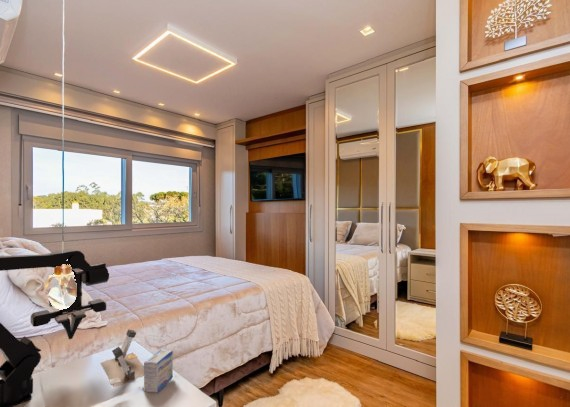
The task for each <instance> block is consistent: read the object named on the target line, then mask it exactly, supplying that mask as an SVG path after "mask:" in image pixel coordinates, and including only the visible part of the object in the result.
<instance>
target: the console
mask: <svg viewBox="0 0 570 407" xmlns="http://www.w3.org/2000/svg"><path fill="white" fill-rule="evenodd" d="M123 358H124V356H123ZM124 360H125V362H126V364H127V365H128V367H129V369H130V371H131V372H129V373H128V377H127V375H126V374H125V372H124V370H123V368H122V366H121V364H120V362H119V360H118V358H117V359H116V357H115V356H114V358H112V359H108V360H105V361H102V362H100V365H101V367H102V368H103V370H104V372H105V374H106V376H107V377H108V380H109V382H110V384H111V385H112V387H113V388H115V387H118V386H120V385H123V384H126V383H128V382H131V381H134V380H137V379H139V378H142V377H144V363H142V362H141V360H140V359H139V358H138V355H136V353H134V352H131V353H126V355H125V358H124Z"/></svg>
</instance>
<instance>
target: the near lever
mask: <svg viewBox="0 0 570 407" xmlns="http://www.w3.org/2000/svg"><path fill="white" fill-rule="evenodd" d="M111 352H112V354H113V356H114V358H115V357H116V359H117V358H118V360H119V362H120V364H121V366H122V368H123V370H124V372H125V374H126V375H127V377H128V373H129V372H131V371H130V369H129V367H128V365H127V364H126V362H125V360H124V358H123V356H122V355H123V352H122V350H121V347H120V346H117V347H115V348H114V349H113V350H111Z"/></svg>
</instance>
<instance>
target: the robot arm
mask: <svg viewBox="0 0 570 407" xmlns="http://www.w3.org/2000/svg"><path fill="white" fill-rule="evenodd" d="M62 250H63V253H62ZM62 250H56V251H52V252H50V253H49V252H48V253H41V254H39V253H38V254H21V255H20V254H19V255H0V272H1V271H2V272H3V271H12V270H13V271H15V270H26V269H28V270H30V269H41V268H55V267H56V266H61V265H62V264H66V265H67V264H68V265H69V264H70V265H71V267H72V269H71V270H72V271H73V272H74V275H75V277H74V279H76V281H75V282H76V283H77V297H76V300H75V302H74V303H73V304H72V305H71V306H70V307H69V308H67V309H63V310H59V309H58V310H57V311H56V310H55V311H52V312H50V311H49V310H48V309H45V310H40V311H36V312H35V311H34V312H33V313H32V314H31V315H30V324H31V325H32V327H34V328H35V327H36V328H37V327H39V326H43V325H45V326H46V325H48V324H49V323H50V322H51V321H52V320H53V319H54V321H55V322H56V323H57V324H59V325H60V324H61V325H62V327H63V328H64V331H65V334H66V336H67V338H68V340H72V339H73V338H74V336H75V333H76V331H77V329H78V327H79V326H80V324H81V322H82V320H83V319H85V318H87V315H86V312H89V311H93V312H95V313H99V312H104V311H107V302H105V301H104V300H102V299H101V298H99V299H94V300H89V301H88V303H87V304H85V305H82V304H83V303H82V302H83V301H82V298H83V297H82V296H83V290H82V289H83V285H85V286H86V287H89V286H90V287H91V286H95V285H99V284H103V283H104V284H105V283H107V282H108V281H109V279H110V273H109V271H108V270H109V269H108V268H107V264H106V263H104V262H100V263H96V264H90V263H88V261H87V260H86V258H85V254H84V253H83V252H82V251H81V250H76V249H62ZM67 259H68V261H66V260H67ZM75 270H76V271H75ZM77 270H79V271H77ZM54 273H55V272H53V273H52V274H51V275H53V274H54ZM48 305H49V308H53V307H54V306H52V305H51V303H50V301H49V300H48ZM69 316H71V318H69ZM0 352H1V354H2V355H3V358H4V359H5V361H4V362H3V363H2V364H1V365H0V407H13V406H16V405H19V404H21V403H24V402H26V401H30V400H31V399H32V394H33V393H34V379H33V373H34V371H35V368H36V367H37V366H39V363H40V361H41V360H42V354H41V353H40V352H42V349H41V348H40V347H37V345H35V344H34V342H33V341H32V340H31V339H29V338H28V337H27V336H22V338H21V339H18V338H17V337H16V336H15V335H13V333H11V332H10V330H9V329H8V328H7V327H5V326H4V324H2V323H1V322H0Z"/></svg>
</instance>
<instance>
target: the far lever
mask: <svg viewBox="0 0 570 407" xmlns="http://www.w3.org/2000/svg"><path fill="white" fill-rule="evenodd" d="M136 335H137V332H136V331H135V330H133V329H127V331H126V336H125V338H124V341H123V344H122V346H121V347H120V349H121V350H122V352H123V355H122V356H124V358H125V355H127V354H128V351H129V348H130V347H131V343H132V341H133V339H134V338H135V337H136Z"/></svg>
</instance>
